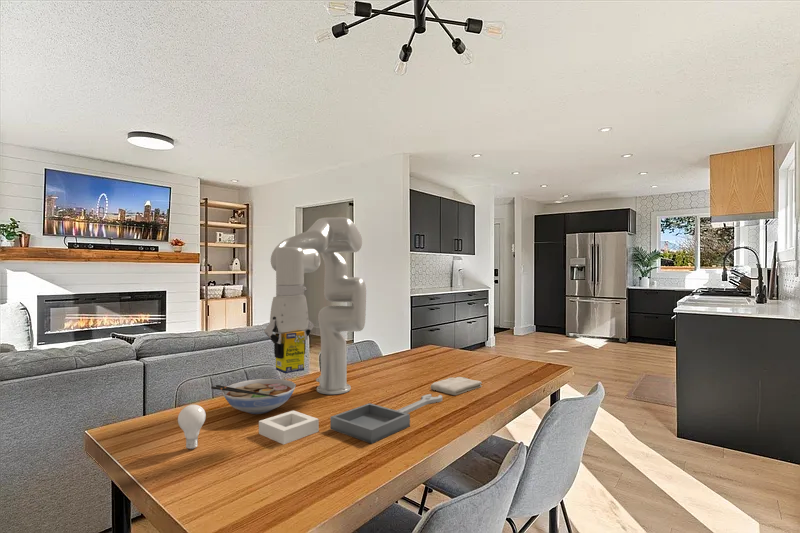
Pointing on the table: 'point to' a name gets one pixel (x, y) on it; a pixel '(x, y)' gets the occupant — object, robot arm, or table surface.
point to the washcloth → (456, 385)
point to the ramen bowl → (257, 394)
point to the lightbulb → (191, 423)
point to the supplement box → (292, 353)
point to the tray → (370, 422)
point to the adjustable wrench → (421, 403)
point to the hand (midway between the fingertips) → (290, 355)
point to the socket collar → (288, 426)
